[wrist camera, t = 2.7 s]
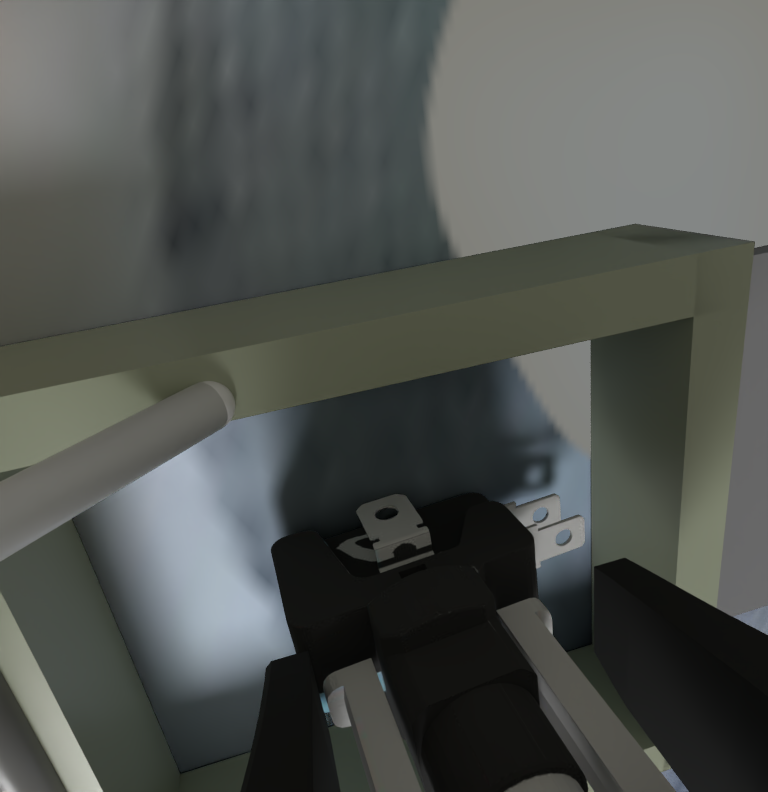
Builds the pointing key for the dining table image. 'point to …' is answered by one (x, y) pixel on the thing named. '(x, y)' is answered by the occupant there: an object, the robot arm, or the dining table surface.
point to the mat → (749, 464)
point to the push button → (453, 651)
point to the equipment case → (327, 378)
